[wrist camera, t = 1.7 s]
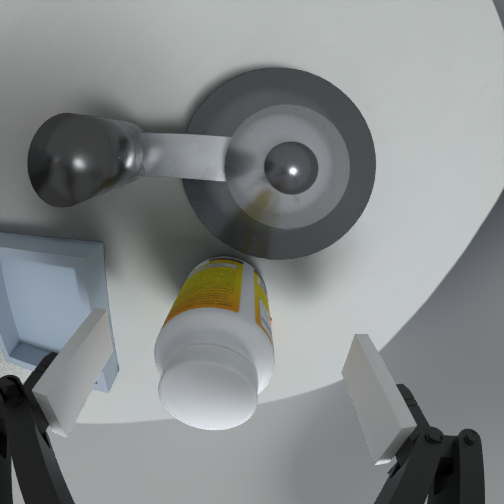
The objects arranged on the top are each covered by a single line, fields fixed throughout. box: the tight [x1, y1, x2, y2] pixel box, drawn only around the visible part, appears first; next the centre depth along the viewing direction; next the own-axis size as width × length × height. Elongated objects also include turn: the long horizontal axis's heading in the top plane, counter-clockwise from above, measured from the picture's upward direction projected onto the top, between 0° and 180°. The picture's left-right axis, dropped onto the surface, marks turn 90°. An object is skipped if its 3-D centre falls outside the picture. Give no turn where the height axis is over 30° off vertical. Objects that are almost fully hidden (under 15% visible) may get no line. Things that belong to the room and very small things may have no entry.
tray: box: [0, 232, 119, 393], centre depth 19 cm, size 12×12×3 cm
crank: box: [28, 104, 350, 229], centre depth 12 cm, size 14×6×6 cm, turn 84°
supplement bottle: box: [154, 256, 275, 430], centre depth 15 cm, size 6×6×10 cm
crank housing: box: [183, 68, 376, 260], centre depth 17 cm, size 11×11×2 cm
